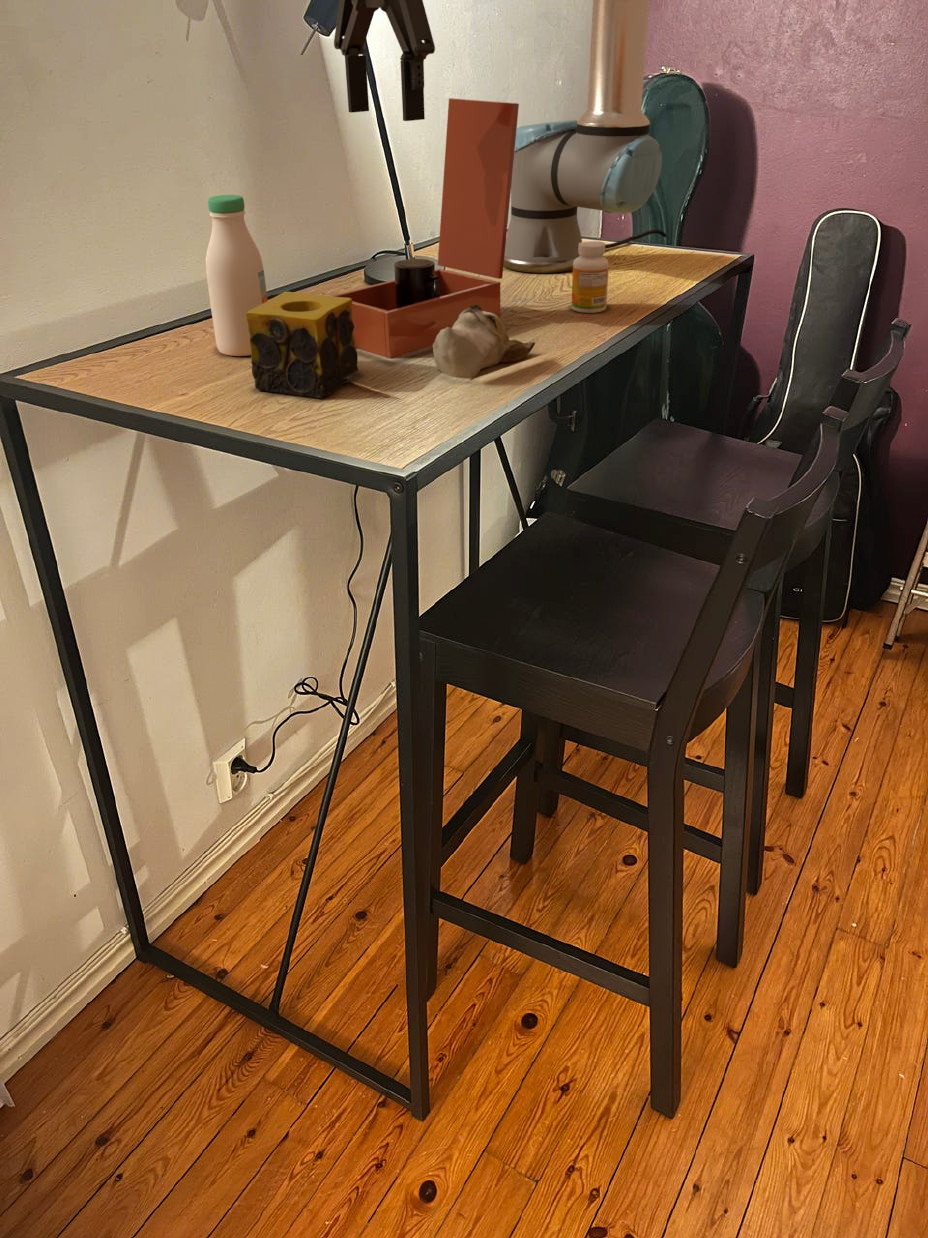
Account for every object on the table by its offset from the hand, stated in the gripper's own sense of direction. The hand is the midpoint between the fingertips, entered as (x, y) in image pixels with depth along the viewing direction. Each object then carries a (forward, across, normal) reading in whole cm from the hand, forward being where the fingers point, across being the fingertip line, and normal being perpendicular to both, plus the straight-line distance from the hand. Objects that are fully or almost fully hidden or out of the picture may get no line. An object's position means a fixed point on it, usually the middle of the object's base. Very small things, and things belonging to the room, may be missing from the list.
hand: (385, 115), depth 131 cm
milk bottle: (+29, -9, -20) cm, 36 cm away
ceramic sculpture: (+29, +18, +1) cm, 34 cm away
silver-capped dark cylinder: (+28, +2, +2) cm, 28 cm away
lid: (+10, -1, +14) cm, 18 cm away
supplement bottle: (+29, +5, +32) cm, 43 cm away
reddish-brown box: (+29, +2, +2) cm, 29 cm away
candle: (+29, +10, -19) cm, 36 cm away
